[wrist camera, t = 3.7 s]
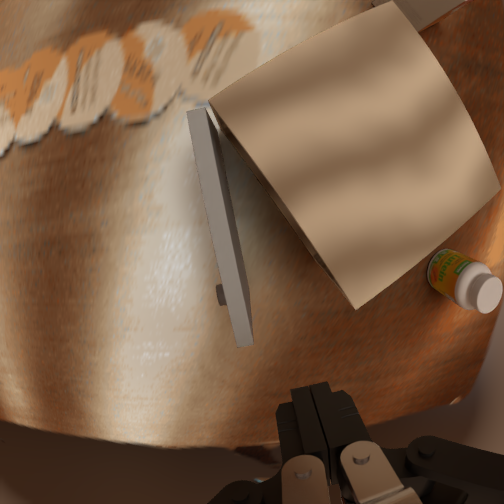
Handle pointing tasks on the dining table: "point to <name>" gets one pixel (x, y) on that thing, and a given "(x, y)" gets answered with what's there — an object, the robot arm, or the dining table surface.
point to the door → (222, 225)
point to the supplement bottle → (464, 281)
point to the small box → (426, 10)
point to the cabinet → (361, 148)
